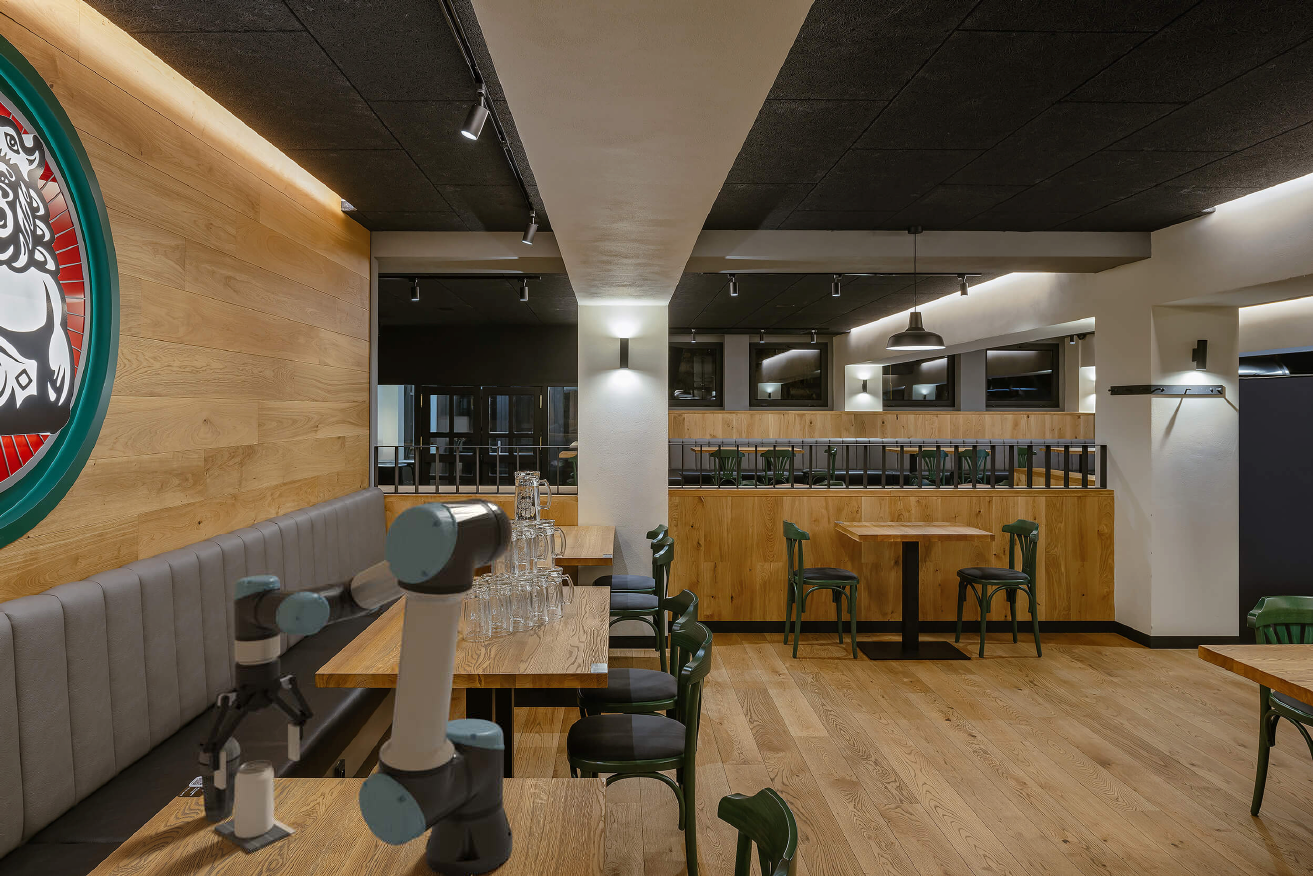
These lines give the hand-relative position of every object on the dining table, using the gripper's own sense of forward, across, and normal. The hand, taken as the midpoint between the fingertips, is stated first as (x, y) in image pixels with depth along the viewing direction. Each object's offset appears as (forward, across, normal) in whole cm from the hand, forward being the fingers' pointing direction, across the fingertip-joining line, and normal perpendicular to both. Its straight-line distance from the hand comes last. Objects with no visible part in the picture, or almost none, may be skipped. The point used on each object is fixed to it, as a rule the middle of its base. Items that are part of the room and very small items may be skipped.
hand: (258, 772), depth 135 cm
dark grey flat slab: (+11, 0, -2) cm, 12 cm away
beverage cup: (+11, +1, -13) cm, 17 cm away
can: (+11, 0, -1) cm, 11 cm away
